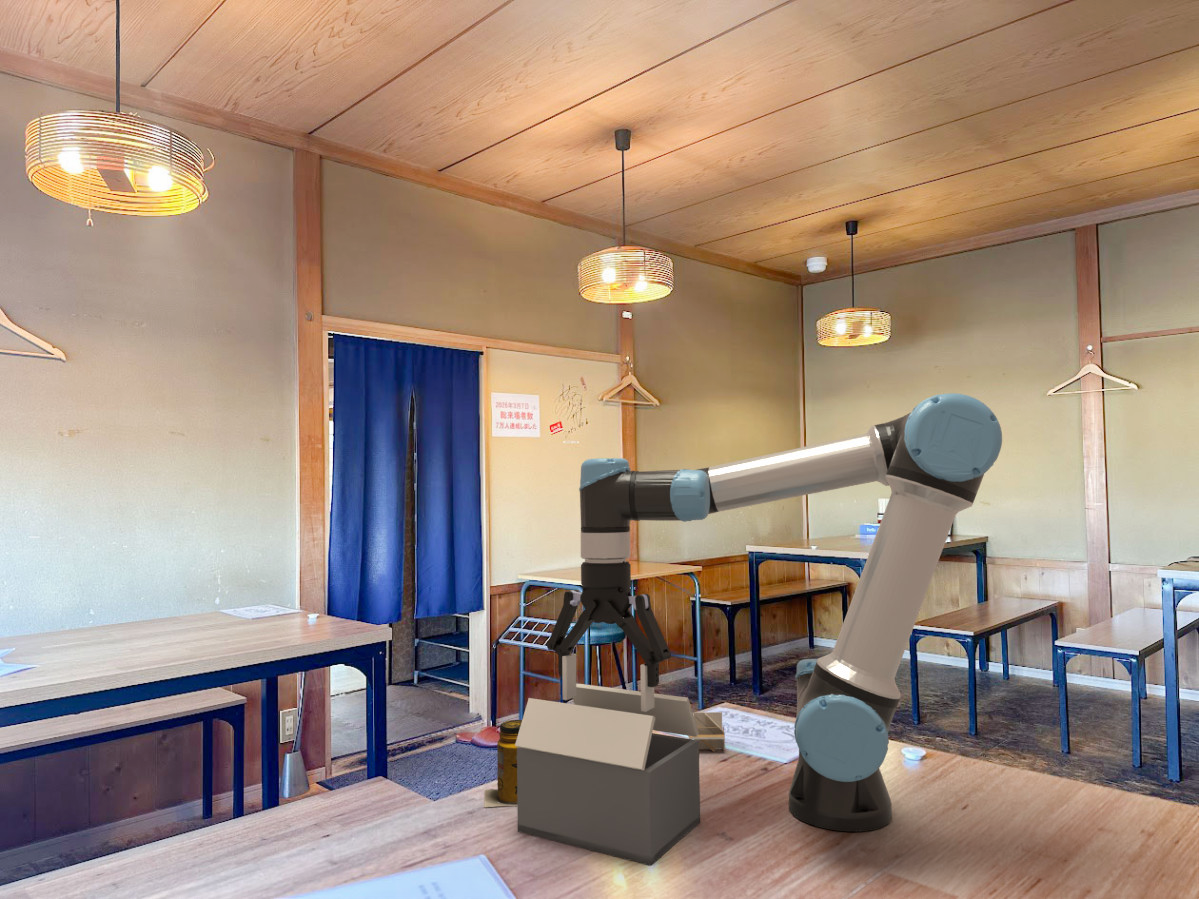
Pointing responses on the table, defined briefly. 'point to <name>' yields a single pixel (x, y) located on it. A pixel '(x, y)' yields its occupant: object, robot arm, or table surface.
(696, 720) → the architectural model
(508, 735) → the condiment
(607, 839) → the carton
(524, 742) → the near flap
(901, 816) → the table surface
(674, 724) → the far flap
